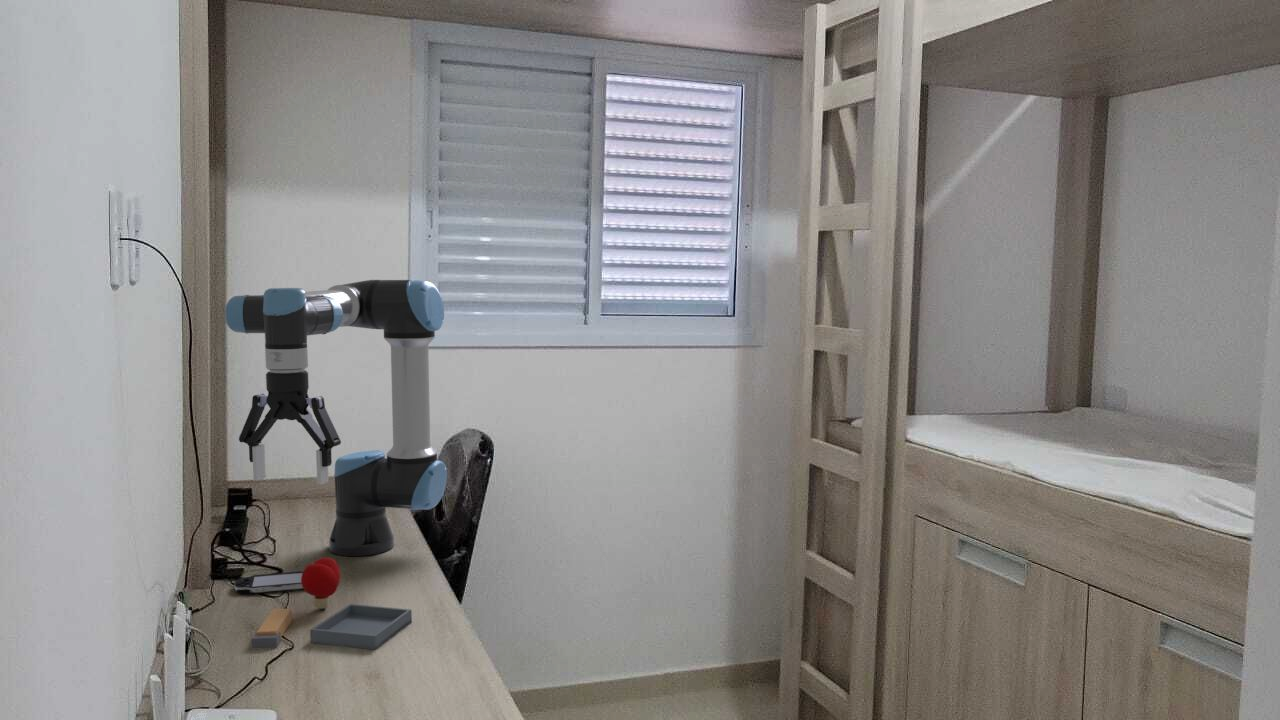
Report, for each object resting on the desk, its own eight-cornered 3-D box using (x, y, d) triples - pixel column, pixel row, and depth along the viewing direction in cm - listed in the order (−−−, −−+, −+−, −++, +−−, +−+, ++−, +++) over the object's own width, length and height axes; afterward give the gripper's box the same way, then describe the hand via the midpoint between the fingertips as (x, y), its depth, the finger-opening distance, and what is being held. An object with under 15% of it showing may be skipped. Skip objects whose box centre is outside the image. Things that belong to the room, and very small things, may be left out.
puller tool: (270, 621, 201) (270, 609, 200) (294, 620, 201) (293, 608, 201) (251, 649, 187) (251, 636, 187) (276, 648, 187) (276, 635, 187)
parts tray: (350, 616, 203) (350, 603, 203) (411, 622, 200) (411, 609, 200) (310, 642, 190) (310, 629, 190) (375, 649, 187) (375, 636, 186)
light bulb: (326, 619, 202) (324, 569, 201) (293, 616, 203) (292, 567, 202) (349, 603, 211) (347, 555, 210) (317, 600, 212) (316, 553, 211)
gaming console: (330, 578, 229) (329, 566, 228) (330, 590, 220) (329, 578, 220) (236, 585, 223) (236, 574, 223) (232, 598, 215) (232, 586, 214)
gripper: (216, 370, 194) (221, 481, 196) (335, 374, 187) (339, 489, 190) (241, 366, 201) (245, 473, 203) (357, 370, 195) (360, 480, 197)
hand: (290, 481), depth 196 cm, fingers open, 13 cm apart
